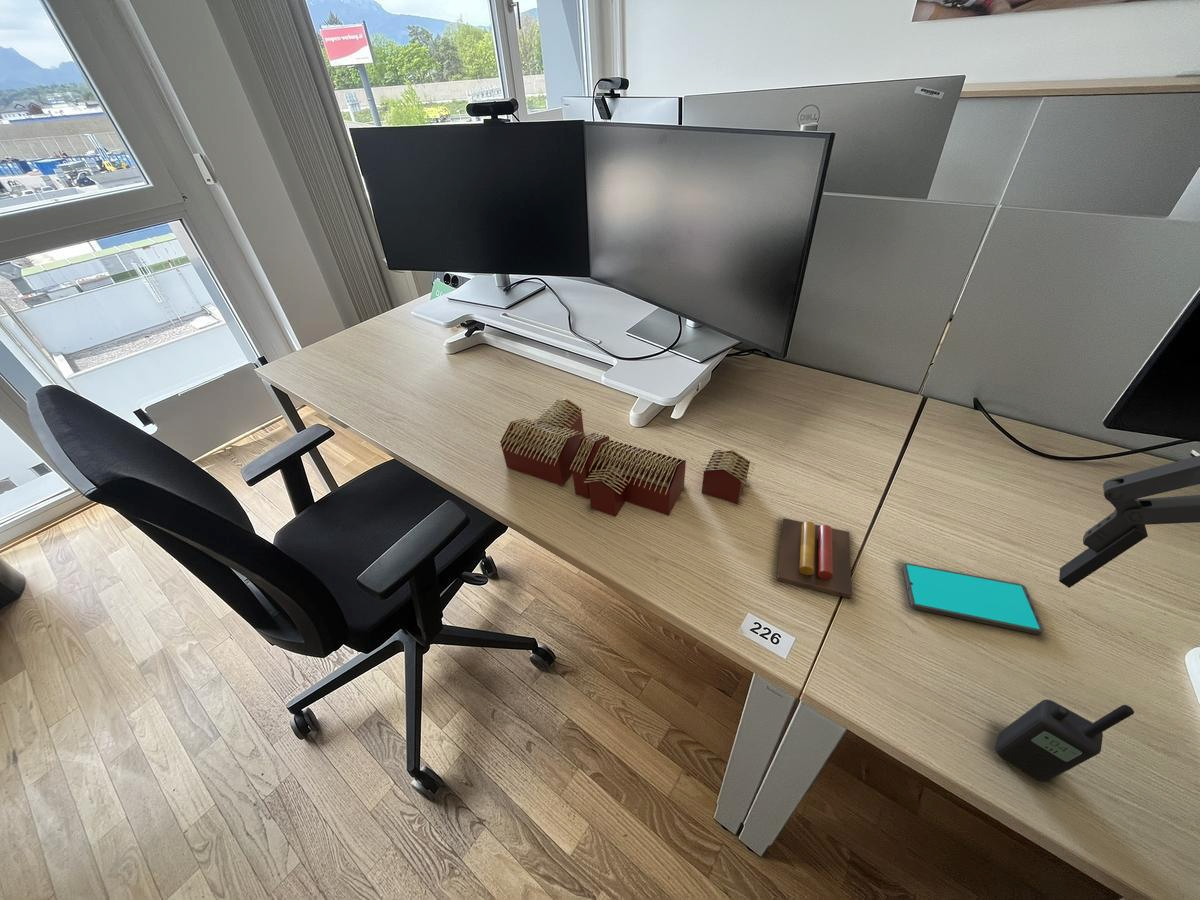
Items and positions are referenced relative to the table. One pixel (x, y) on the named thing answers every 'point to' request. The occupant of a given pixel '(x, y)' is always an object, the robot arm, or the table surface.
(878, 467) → the table surface
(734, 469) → the toy houses
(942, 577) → the smartphone
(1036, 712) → the walkie-talkie
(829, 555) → the rod rack
